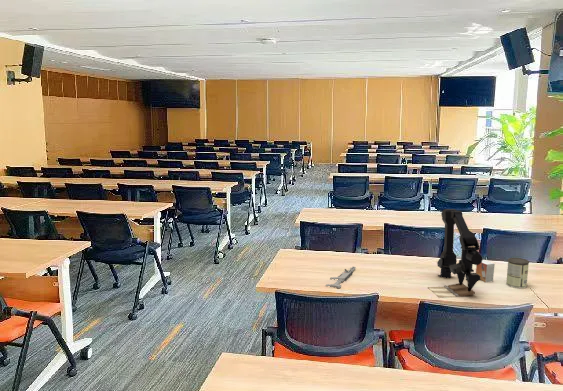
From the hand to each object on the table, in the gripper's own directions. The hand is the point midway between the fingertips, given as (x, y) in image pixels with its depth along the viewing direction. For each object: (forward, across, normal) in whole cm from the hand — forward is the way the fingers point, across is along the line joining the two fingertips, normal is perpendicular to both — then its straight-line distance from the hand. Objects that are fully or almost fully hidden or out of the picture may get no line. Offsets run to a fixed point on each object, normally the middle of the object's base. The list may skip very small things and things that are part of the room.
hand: (464, 288), depth 254 cm
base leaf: (+3, 0, -12) cm, 12 cm away
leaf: (+2, 0, -3) cm, 3 cm away
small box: (+3, -18, +21) cm, 28 cm away
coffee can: (+3, -8, +34) cm, 35 cm away
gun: (+4, -30, -58) cm, 66 cm away
